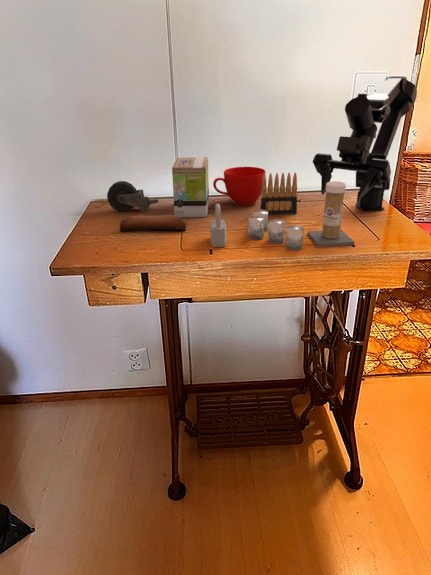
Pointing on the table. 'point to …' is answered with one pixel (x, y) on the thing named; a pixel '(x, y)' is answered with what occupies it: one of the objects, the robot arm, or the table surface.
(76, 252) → the table surface
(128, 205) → the caster wheel
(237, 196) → the ceramic cup
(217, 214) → the padlock
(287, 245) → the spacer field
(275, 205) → the ammunition clip
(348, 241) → the mat
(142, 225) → the sunglasses case
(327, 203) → the sprinkles bottle
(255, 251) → the table surface
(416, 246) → the table surface
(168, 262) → the table surface
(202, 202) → the tea box
